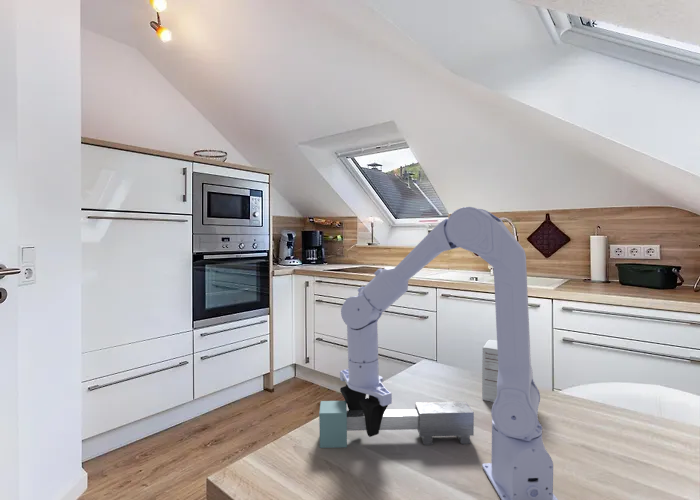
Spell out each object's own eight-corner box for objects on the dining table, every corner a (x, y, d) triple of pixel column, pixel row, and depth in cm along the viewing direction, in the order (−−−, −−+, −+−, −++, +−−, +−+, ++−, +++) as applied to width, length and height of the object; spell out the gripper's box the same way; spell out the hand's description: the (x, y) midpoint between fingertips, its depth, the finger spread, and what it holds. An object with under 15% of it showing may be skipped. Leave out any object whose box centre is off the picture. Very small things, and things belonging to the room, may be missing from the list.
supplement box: (487, 388, 96) (488, 338, 95) (519, 394, 92) (520, 342, 92) (481, 400, 90) (481, 346, 89) (515, 407, 86) (516, 351, 85)
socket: (347, 447, 71) (346, 412, 71) (319, 447, 71) (319, 413, 71) (346, 432, 76) (346, 400, 76) (321, 433, 76) (320, 401, 76)
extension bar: (429, 429, 72) (429, 415, 72) (338, 431, 72) (338, 417, 72) (426, 422, 75) (426, 408, 75) (338, 423, 75) (338, 410, 75)
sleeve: (473, 443, 72) (473, 412, 71) (419, 444, 72) (419, 413, 71) (465, 431, 76) (466, 401, 76) (415, 432, 76) (415, 402, 76)
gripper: (404, 364, 69) (406, 438, 69) (359, 345, 81) (361, 408, 82) (372, 373, 65) (374, 451, 66) (330, 351, 77) (332, 417, 78)
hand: (365, 428), depth 73 cm, fingers closed on extension bar, 5 cm apart
